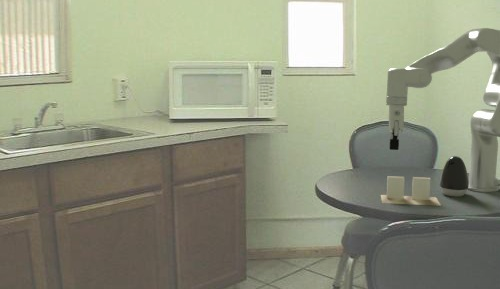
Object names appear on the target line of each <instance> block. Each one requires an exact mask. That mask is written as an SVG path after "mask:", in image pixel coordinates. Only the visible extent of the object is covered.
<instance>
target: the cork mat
mask: <svg viewBox="0 0 500 289" xmlns="http://www.w3.org/2000/svg"><path fill="white" fill-rule="evenodd" d="M386 196H387V194H380V200H381V203H382V204H395V205H396V204H397V205H415V206H419V205H420V206H434V207H435V206H437V207H442V205H441V203H440V202H439V200H438V198H437V197H435V196H430V198H429V200H416V199H412V195H404V199H395V198H387V197H386Z"/></svg>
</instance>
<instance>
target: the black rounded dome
mask: <svg viewBox="0 0 500 289" xmlns="http://www.w3.org/2000/svg"><path fill="white" fill-rule="evenodd" d="M439 178H440V179H439V184H438V185H439V187H440V190H441V192H442V193H443V195H445V196H448V197H454V198H455V197H457V198H458V197H463V196H464V195H465V194H466V193H467V191H468V190H469V189H468V187H469V183H468V182H469V175H468V171H467V167H466V164H465V162H464V160H463V159H462V158H461V157H460V156H457V155H453V156H450V157H449V158H448V159H447V161H446V162H445V164H444V166H443V168H442V172H441V174H440V177H439Z"/></svg>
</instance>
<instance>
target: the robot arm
mask: <svg viewBox="0 0 500 289" xmlns="http://www.w3.org/2000/svg"><path fill="white" fill-rule="evenodd" d="M481 52H484V53H485V52H486V54H487V56H488V57H489V59H490V61H491V66H492V67H491V68H492V69H491V72H490V76H489V79H488V81H487V84H486V86H485V90H484V92H483V97H482V98H483V99H482V100H483V102H484V104H486V105H487V106H489V107H493V108H495V109H494V110H493V109H487V108H484V109H479V110H477V111H475V112H474V113H473V114H472V116H471V118H470V124H469V125H470V131H471V132H470V133H471V144H470V145H471V147H470V159H469V160H470V161H469V173H468V174H469V175H468V183H469V187H468V189H467V190H470V191H474V192H481V193H494V192H496V193H497V192H498V191H500V179H498V178H497V176H496V175H497V166H498V165H497V163H498V153H499V152H498V151H499V141H498V138H500V29H495V28H489V27H484V28H483V27H482V28H473V29H469V30H468V31H466V32H464V33H463V34H461V35H460V36H458V37H457V38H455V39H454V40H452V41H450V42H449V43H448V44H446V45H444V46H443V47H442V48H441V47H440V48H439V49H437V50H435V51H433V52H431V53H429V54H426V55H425V56H423V57H421V58H419V59H418V60H416V61H414V62H412V63H411V64H409V65H408V66H407V67H405V68H403V67H401V68H400V67H397V68H396V67H395V68H394V67H393V68H390V69H388V71H387V80H386V81H387V82H386V83H387V85H386V99H385V100H386V102H385V105H386V106H389V107H388V130H389V131H390V138H389V150H393V151H398V150H399V146H400V144H399V143H400V132H401V133H404V130H405V128H404V126H405V107H407V105H408V92H409V88H413V89H414V88H415V89H424V88H427V87H428V86H429V85H430V84H431V83H432V81H433V80H432V79H433V75H432V74H434V73H438V72H441V71H446V70H449V69H452V68H454V67H457V66H458V65H459V64H461V63H462V62H464V61H466V60H467V59H468V58H470V57H471V56H473V55H475V54H476V53H481Z"/></svg>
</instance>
